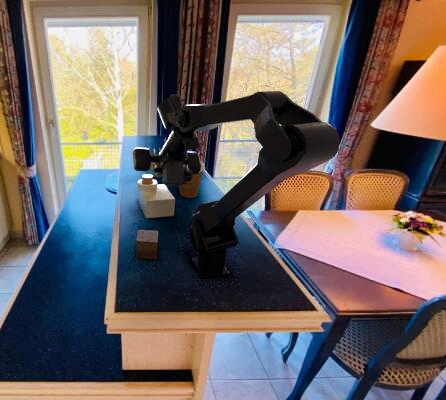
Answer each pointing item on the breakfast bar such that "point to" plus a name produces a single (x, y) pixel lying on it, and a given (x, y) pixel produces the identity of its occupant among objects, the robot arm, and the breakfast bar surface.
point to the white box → (155, 200)
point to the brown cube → (146, 244)
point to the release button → (147, 179)
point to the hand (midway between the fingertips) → (157, 176)
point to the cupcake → (152, 169)
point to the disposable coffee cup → (192, 184)
